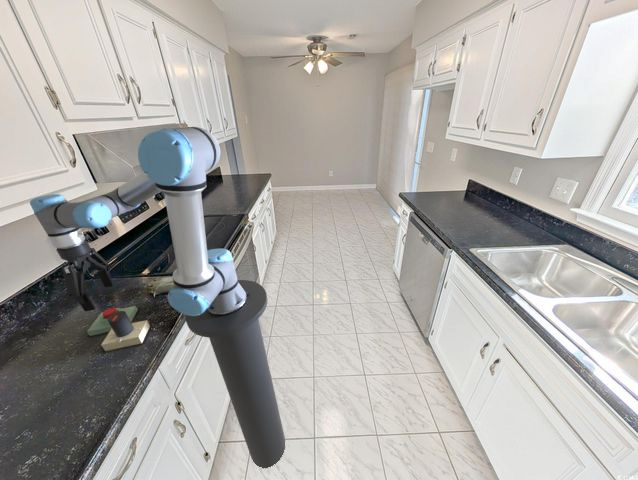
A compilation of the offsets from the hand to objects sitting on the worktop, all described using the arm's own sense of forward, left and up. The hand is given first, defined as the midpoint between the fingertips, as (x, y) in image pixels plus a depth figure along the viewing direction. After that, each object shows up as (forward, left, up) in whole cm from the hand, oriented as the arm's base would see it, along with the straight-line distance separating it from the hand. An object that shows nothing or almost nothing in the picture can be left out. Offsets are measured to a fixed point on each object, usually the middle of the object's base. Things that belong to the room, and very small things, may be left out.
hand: (100, 297), depth 89 cm
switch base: (0, 0, -12) cm, 12 cm away
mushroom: (-14, -17, -12) cm, 25 cm away
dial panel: (-8, +10, -12) cm, 18 cm away
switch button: (0, 0, -9) cm, 9 cm away
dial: (-8, +10, -9) cm, 16 cm away
